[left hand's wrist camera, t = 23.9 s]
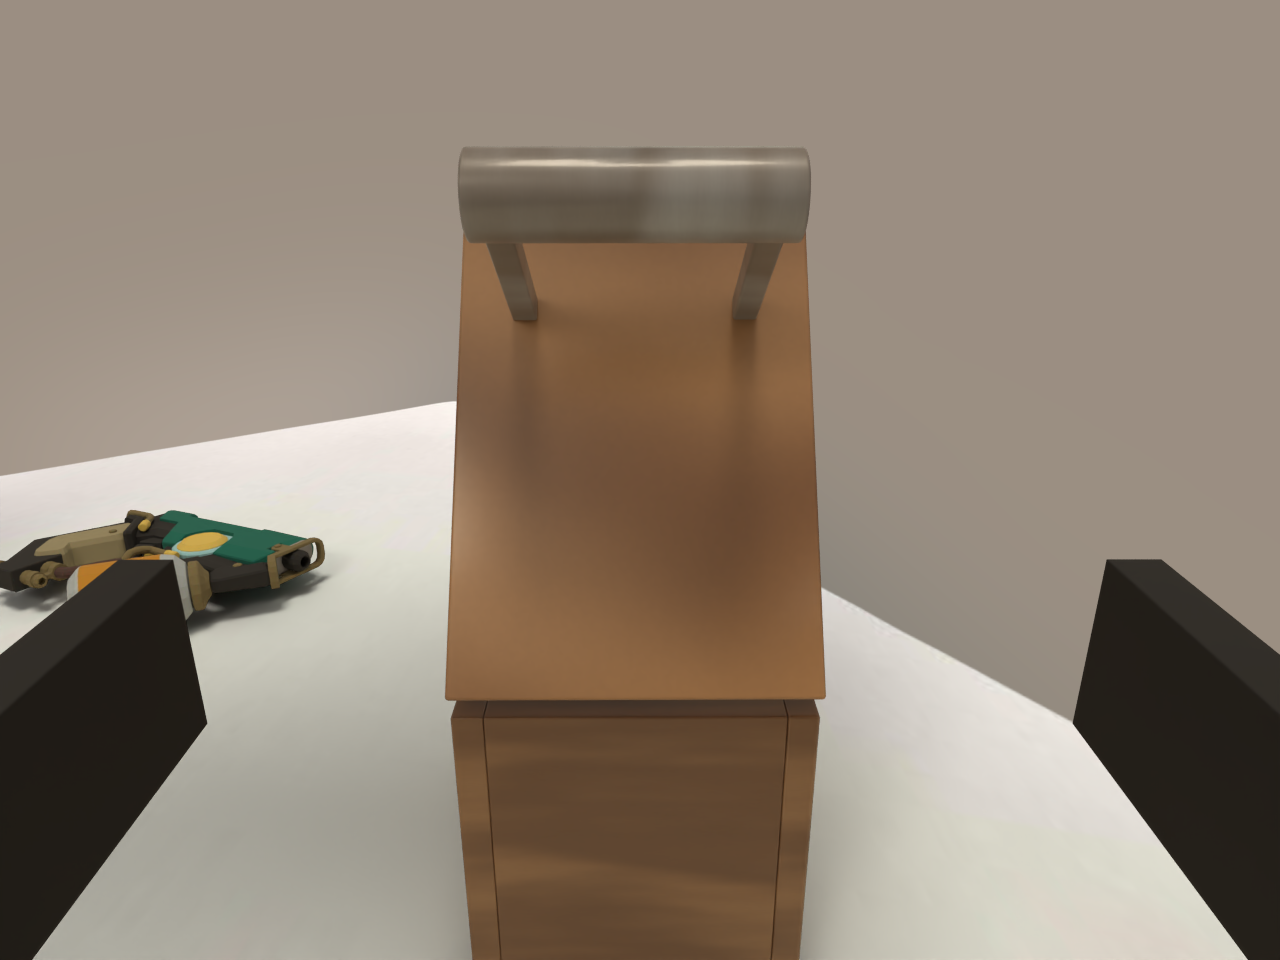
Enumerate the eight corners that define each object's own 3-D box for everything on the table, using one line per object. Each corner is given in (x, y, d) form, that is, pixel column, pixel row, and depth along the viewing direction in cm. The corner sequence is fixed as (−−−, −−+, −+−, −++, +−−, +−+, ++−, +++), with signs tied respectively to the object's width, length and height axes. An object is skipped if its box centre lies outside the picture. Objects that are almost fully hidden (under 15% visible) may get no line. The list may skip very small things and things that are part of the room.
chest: (524, 748, 40) (512, 524, 36) (746, 747, 40) (758, 523, 36) (476, 1012, 28) (450, 718, 24) (795, 1011, 28) (820, 717, 24)
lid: (470, 239, 27) (397, 54, 19) (799, 239, 27) (870, 54, 19) (452, 698, 24) (358, 718, 16) (818, 697, 24) (911, 717, 16)
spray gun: (-14, 592, 55) (229, 528, 65) (67, 683, 44) (344, 589, 54) (-31, 528, 54) (220, 473, 64) (48, 605, 43) (335, 524, 53)
